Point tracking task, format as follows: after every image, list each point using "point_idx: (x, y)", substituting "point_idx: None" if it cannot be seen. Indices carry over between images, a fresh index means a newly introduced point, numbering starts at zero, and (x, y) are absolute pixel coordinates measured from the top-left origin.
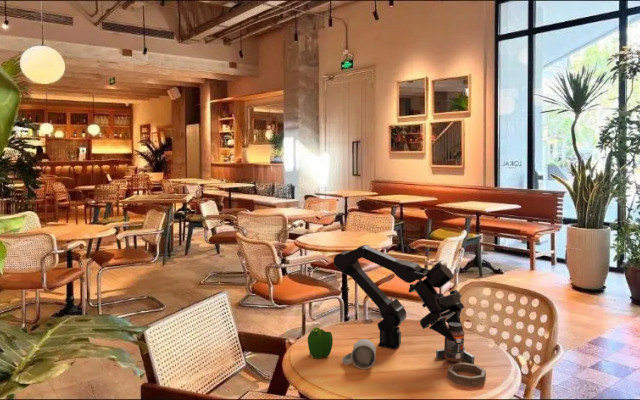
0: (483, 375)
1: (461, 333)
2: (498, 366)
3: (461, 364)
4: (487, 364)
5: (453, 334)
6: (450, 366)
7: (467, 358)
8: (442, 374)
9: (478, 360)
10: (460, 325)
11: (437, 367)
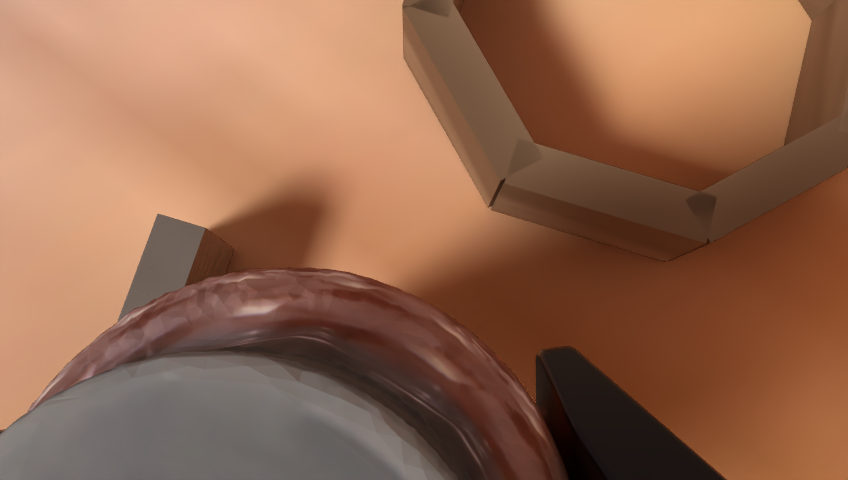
0: None
1: (276, 289)
2: (11, 6)
3: (562, 151)
4: (63, 123)
5: (531, 415)
6: (763, 195)
7: None
8: (796, 281)
9: (35, 274)
10: (151, 368)
11: None
